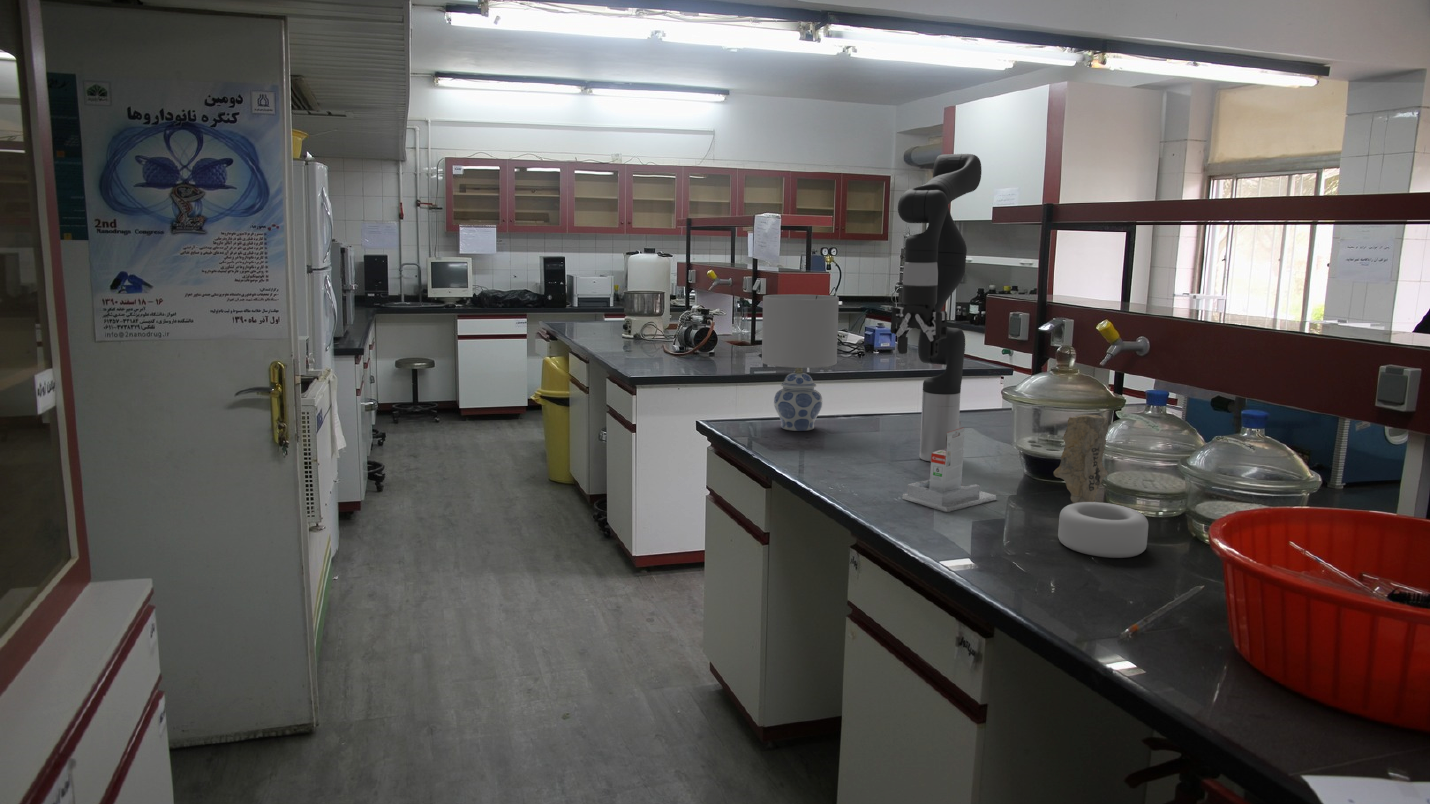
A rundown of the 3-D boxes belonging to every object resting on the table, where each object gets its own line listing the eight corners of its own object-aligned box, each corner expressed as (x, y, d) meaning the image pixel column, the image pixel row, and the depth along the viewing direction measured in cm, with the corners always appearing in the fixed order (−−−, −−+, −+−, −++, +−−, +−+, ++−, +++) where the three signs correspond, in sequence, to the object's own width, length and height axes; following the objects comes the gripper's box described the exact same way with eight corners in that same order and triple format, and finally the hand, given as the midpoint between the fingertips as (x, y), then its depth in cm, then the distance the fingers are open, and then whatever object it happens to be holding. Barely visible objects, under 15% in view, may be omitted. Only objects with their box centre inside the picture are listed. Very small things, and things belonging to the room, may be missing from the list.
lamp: (838, 436, 263) (843, 299, 256) (761, 435, 263) (764, 299, 256) (830, 421, 284) (834, 294, 277) (759, 420, 284) (761, 294, 278)
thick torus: (1139, 565, 162) (1142, 528, 160) (1049, 550, 169) (1051, 514, 168) (1151, 542, 174) (1154, 507, 173) (1067, 528, 182) (1069, 495, 181)
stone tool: (1099, 503, 198) (1107, 410, 195) (1114, 511, 193) (1122, 416, 189) (1044, 505, 197) (1051, 411, 194) (1057, 513, 191) (1064, 417, 188)
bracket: (951, 487, 210) (952, 472, 210) (995, 499, 201) (996, 483, 200) (902, 498, 201) (903, 482, 200) (946, 512, 191) (947, 495, 191)
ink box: (927, 497, 198) (931, 430, 196) (946, 490, 204) (949, 424, 201) (943, 501, 196) (947, 432, 193) (961, 493, 201) (965, 427, 199)
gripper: (957, 283, 204) (953, 357, 207) (906, 280, 215) (904, 350, 218) (934, 285, 199) (931, 361, 202) (884, 281, 210) (882, 353, 214)
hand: (917, 355), depth 210 cm, fingers open, 8 cm apart
